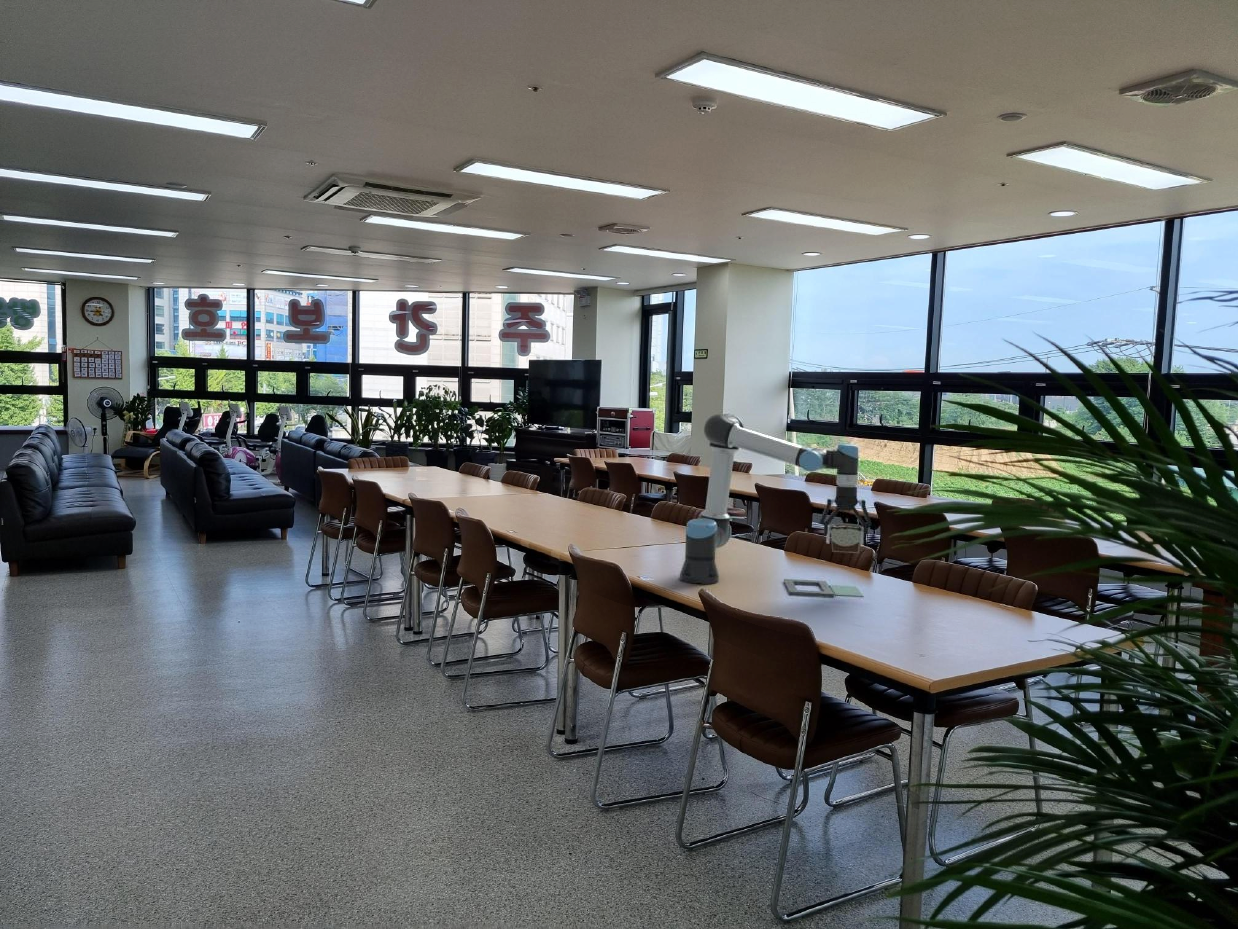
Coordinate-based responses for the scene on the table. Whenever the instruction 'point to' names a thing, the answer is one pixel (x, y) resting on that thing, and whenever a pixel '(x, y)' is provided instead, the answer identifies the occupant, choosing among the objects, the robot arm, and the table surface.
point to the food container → (845, 537)
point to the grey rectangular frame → (793, 591)
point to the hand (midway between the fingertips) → (844, 543)
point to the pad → (845, 590)
